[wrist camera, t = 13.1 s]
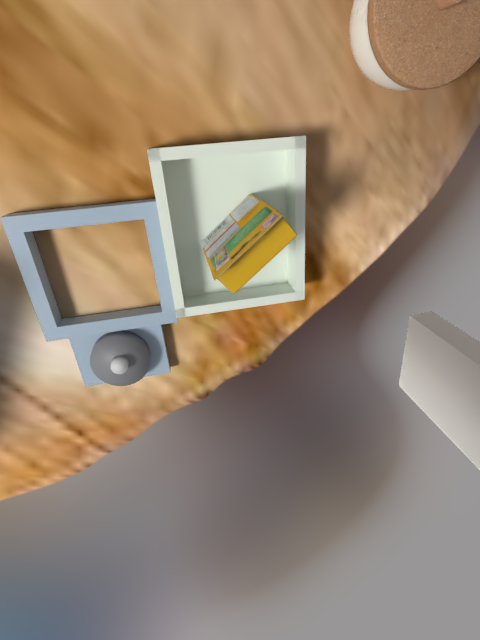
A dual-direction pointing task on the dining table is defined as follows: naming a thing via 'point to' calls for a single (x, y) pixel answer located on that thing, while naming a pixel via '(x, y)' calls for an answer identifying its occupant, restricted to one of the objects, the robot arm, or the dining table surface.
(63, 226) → the block
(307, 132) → the dining table surface
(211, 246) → the crayon box
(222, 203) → the tray
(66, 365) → the dining table surface
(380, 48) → the lidded jar
